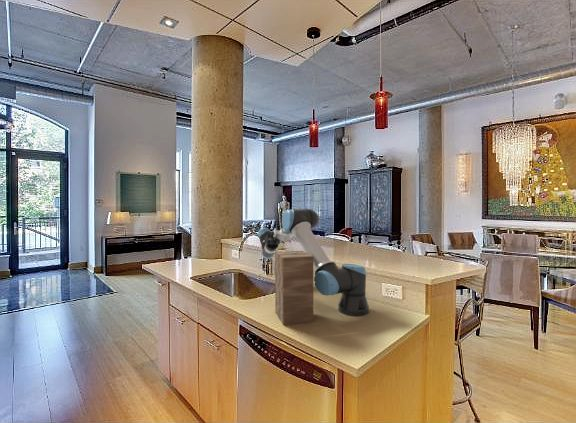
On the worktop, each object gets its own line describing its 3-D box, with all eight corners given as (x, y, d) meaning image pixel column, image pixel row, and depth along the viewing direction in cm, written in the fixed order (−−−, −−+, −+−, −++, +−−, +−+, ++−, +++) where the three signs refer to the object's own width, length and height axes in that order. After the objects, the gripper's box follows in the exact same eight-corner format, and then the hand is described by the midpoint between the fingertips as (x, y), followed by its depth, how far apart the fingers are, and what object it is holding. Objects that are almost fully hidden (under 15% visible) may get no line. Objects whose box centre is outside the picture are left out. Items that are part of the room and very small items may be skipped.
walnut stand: (275, 312, 156) (275, 251, 155) (302, 310, 160) (302, 250, 159) (283, 325, 141) (283, 257, 140) (313, 322, 144) (313, 255, 143)
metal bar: (272, 235, 186) (272, 230, 186) (277, 235, 187) (277, 230, 187) (283, 241, 161) (283, 235, 161) (289, 241, 162) (289, 235, 162)
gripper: (284, 250, 198) (293, 235, 178) (259, 252, 194) (265, 236, 174) (283, 239, 201) (292, 223, 181) (258, 240, 197) (264, 224, 177)
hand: (279, 230), depth 177 cm, fingers closed on metal bar, 3 cm apart
